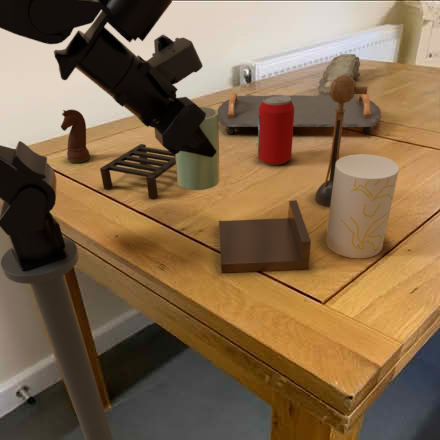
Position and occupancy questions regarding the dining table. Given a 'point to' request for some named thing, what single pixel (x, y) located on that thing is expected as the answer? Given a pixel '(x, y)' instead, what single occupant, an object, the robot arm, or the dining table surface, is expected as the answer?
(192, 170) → the green cup
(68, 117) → the chess piece
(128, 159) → the rack
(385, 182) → the white patterned canister
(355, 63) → the elongated rock
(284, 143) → the beverage can
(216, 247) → the dining table surface
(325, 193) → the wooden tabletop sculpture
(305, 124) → the serving tray
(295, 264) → the shelf
